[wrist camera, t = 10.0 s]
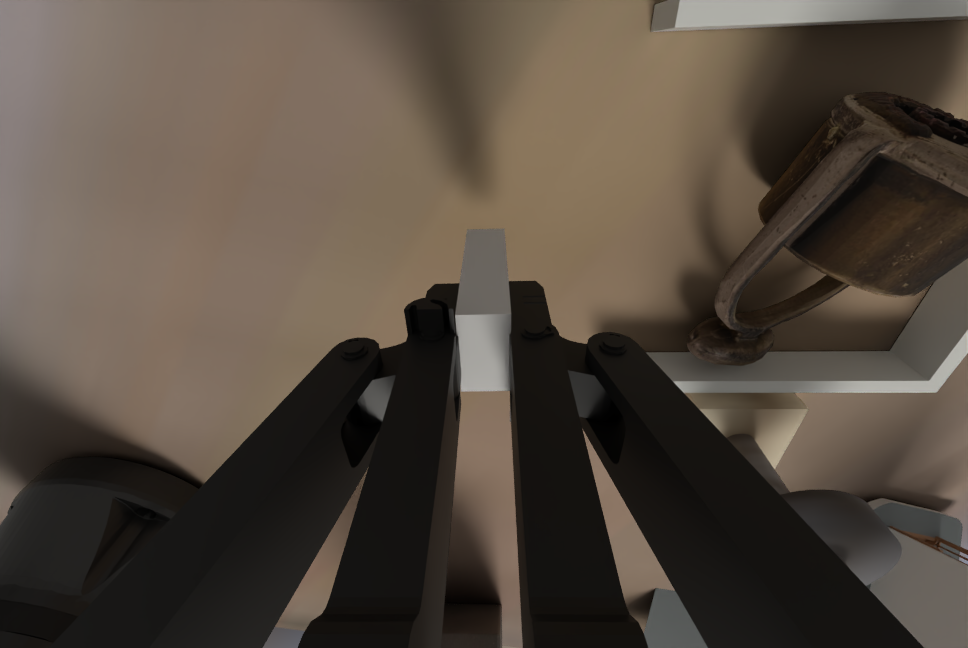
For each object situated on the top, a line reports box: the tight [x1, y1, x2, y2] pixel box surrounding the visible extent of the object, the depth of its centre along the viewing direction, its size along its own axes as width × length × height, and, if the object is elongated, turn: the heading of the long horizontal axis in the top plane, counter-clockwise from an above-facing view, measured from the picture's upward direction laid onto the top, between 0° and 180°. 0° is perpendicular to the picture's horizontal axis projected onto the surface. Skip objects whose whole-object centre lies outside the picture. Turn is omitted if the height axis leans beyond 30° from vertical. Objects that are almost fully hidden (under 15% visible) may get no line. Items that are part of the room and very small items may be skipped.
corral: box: [646, 0, 968, 393], centre depth 18 cm, size 17×17×2 cm
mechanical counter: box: [687, 92, 968, 366], centre depth 17 cm, size 7×13×10 cm
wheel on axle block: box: [684, 393, 902, 586], centre depth 22 cm, size 7×7×10 cm
